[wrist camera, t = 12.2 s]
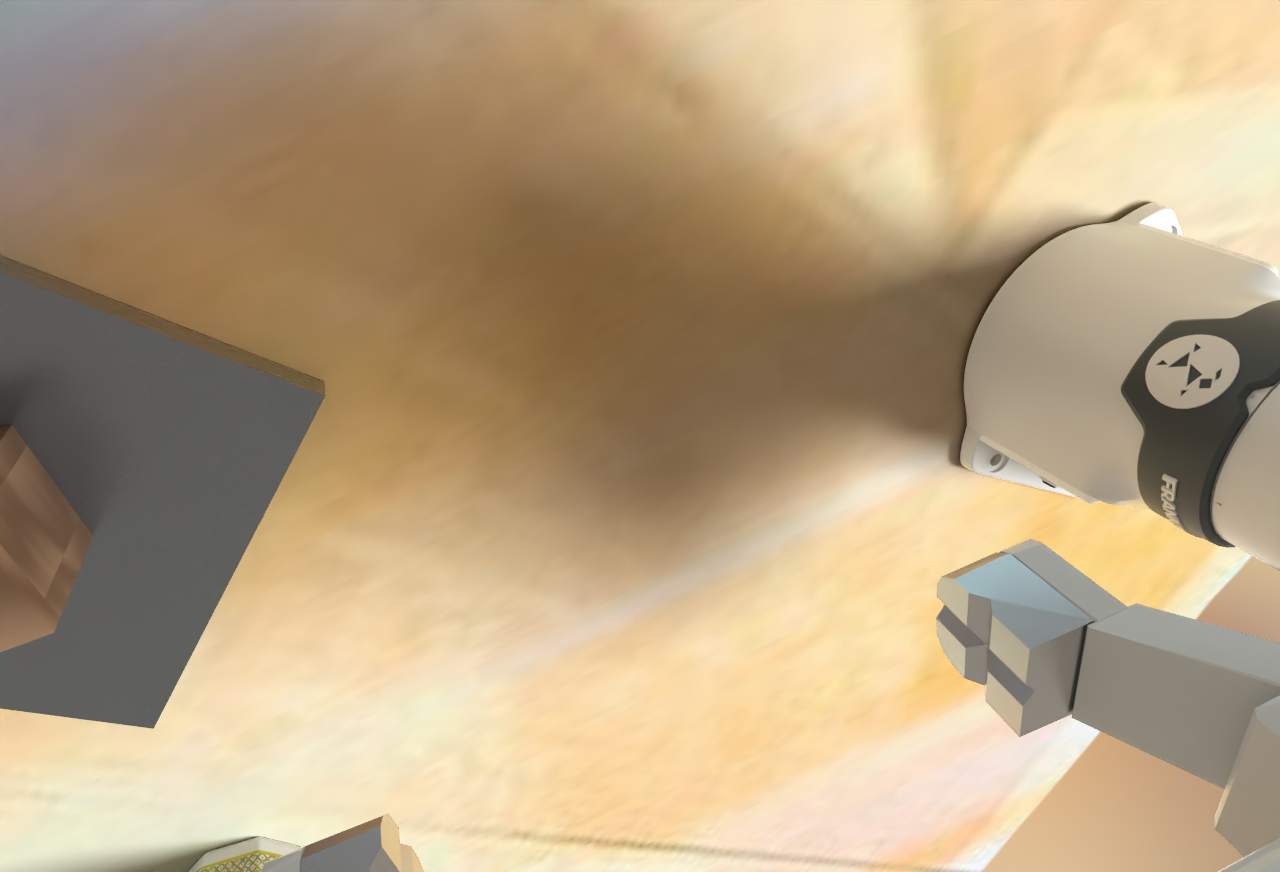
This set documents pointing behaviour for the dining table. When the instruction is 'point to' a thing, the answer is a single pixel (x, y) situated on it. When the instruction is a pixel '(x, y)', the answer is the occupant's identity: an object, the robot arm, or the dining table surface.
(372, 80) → the dining table surface
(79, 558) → the taped cardboard carton
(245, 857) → the ceramic cup
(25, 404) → the plate
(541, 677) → the dining table surface
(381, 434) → the dining table surface
